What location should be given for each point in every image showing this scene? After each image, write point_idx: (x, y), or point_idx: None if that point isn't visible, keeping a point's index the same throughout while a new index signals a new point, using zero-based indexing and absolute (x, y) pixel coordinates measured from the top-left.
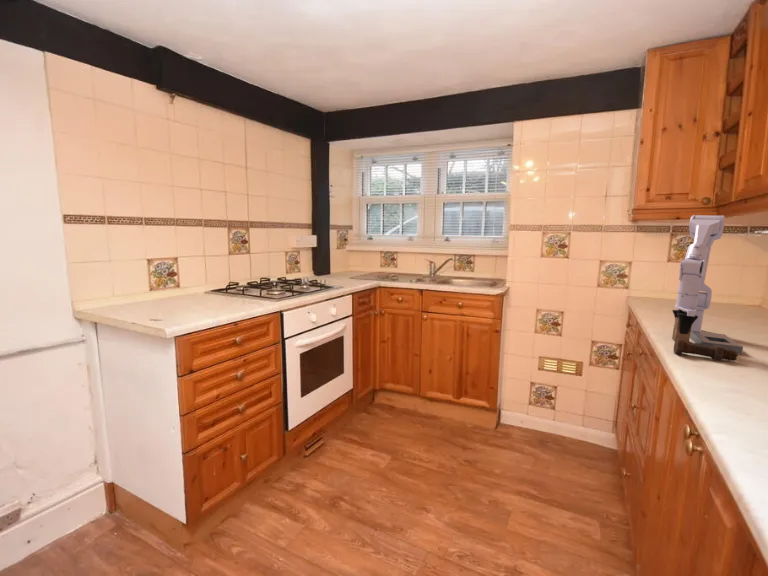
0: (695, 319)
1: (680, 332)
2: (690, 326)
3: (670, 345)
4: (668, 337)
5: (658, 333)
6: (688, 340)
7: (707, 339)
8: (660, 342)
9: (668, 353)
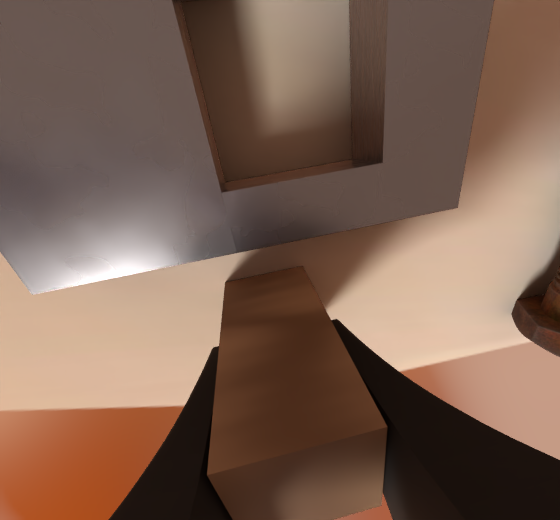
0: (527, 449)
1: None
2: (390, 368)
3: (404, 333)
4: None
5: (158, 397)
6: (307, 279)
7: (347, 175)
8: None
9: None
